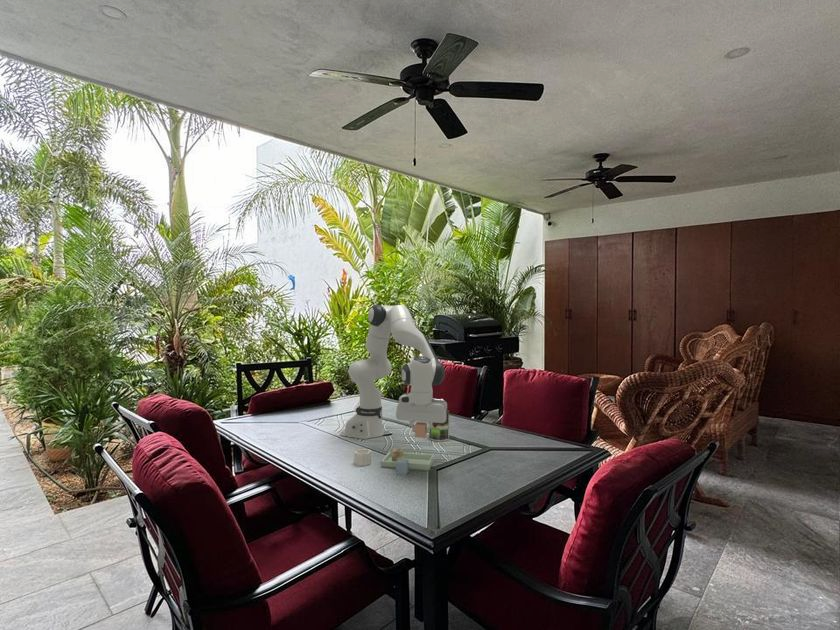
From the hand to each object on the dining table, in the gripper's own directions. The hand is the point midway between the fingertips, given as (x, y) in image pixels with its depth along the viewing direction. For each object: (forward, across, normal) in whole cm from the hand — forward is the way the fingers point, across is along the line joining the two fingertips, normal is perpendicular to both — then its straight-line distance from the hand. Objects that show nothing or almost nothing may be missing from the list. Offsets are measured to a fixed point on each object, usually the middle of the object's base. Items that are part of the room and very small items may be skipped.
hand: (420, 432), depth 175 cm
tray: (+16, +6, -6) cm, 19 cm away
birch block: (+16, +11, -6) cm, 20 cm away
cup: (+16, +26, -3) cm, 30 cm away
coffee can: (+17, 0, -45) cm, 48 cm away
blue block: (+16, +6, +4) cm, 18 cm away
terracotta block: (+2, 0, 0) cm, 2 cm away
